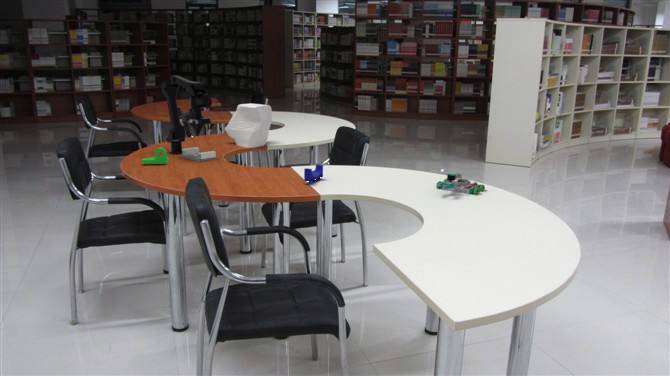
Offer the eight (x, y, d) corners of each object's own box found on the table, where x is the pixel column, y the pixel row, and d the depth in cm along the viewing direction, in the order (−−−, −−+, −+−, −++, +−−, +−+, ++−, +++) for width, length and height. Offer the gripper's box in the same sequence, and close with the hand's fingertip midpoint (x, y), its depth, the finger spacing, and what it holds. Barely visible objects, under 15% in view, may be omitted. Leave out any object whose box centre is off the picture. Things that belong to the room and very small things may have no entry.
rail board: (180, 156, 297) (179, 149, 296) (199, 154, 305) (198, 146, 304) (198, 161, 285) (198, 153, 284) (218, 159, 293) (218, 151, 292)
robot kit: (422, 196, 226) (423, 174, 224) (447, 185, 246) (449, 165, 243) (464, 204, 215) (466, 181, 213) (488, 192, 235) (489, 171, 233)
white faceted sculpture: (251, 151, 317) (250, 107, 311) (223, 145, 335) (222, 103, 329) (279, 148, 332) (278, 105, 326) (251, 142, 350) (250, 101, 344)
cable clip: (314, 176, 258) (314, 164, 256) (322, 177, 256) (323, 165, 254) (301, 181, 248) (301, 168, 246) (310, 182, 246) (310, 169, 244)
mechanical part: (168, 161, 285) (168, 146, 283) (166, 163, 279) (165, 148, 277) (145, 161, 284) (144, 146, 282) (142, 163, 278) (141, 148, 276)
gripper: (173, 105, 289) (174, 135, 292) (192, 108, 276) (193, 139, 280) (191, 104, 297) (192, 133, 300) (211, 107, 284) (212, 137, 288)
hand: (197, 135), depth 292 cm, fingers closed
